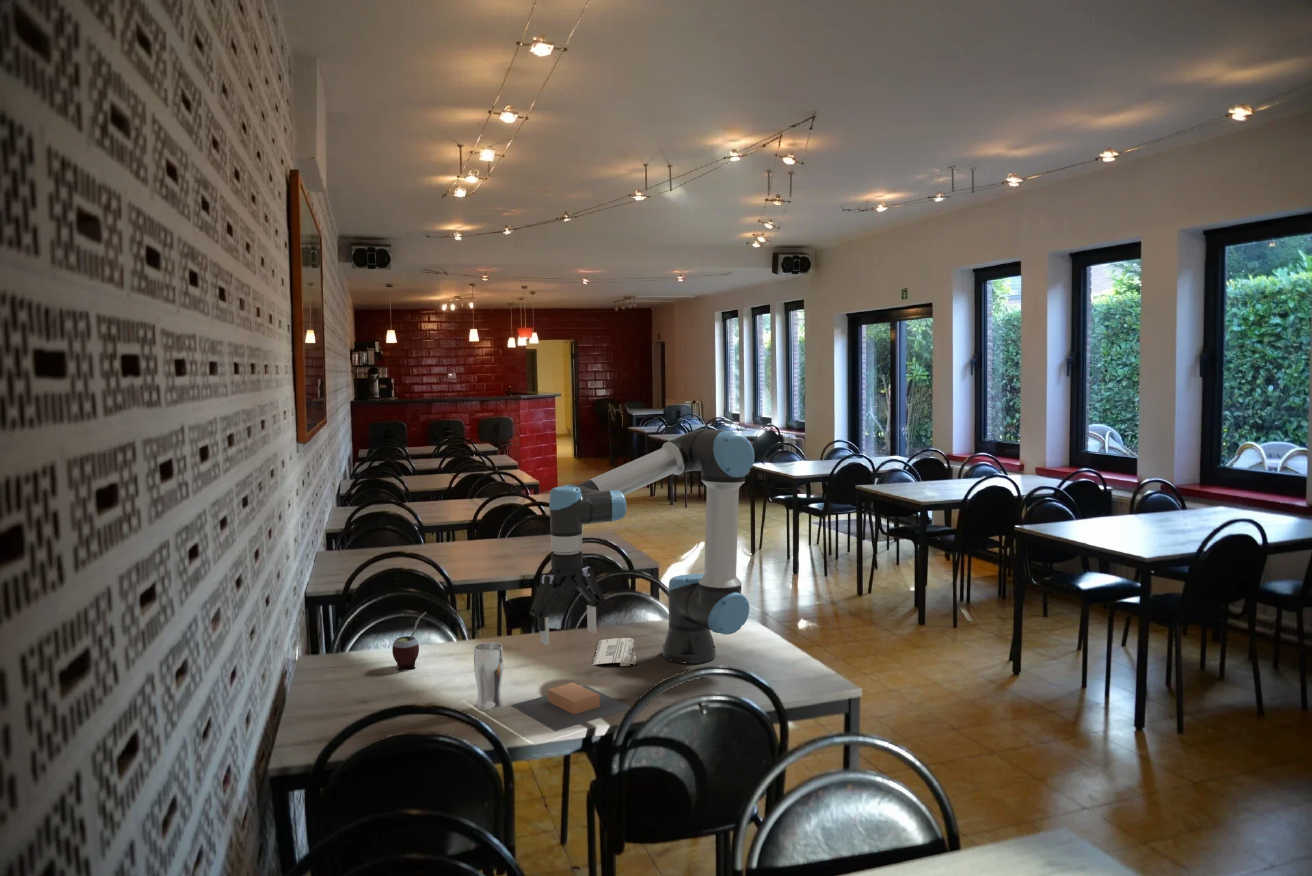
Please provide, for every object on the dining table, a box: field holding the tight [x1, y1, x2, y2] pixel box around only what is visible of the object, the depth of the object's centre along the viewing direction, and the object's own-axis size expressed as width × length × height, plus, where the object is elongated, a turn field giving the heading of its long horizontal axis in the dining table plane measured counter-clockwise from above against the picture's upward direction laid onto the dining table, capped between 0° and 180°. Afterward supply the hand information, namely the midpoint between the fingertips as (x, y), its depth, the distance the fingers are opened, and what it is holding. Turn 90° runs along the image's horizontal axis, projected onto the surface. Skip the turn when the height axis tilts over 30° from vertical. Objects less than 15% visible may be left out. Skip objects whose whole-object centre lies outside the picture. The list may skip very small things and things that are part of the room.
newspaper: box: [592, 637, 637, 667], centre depth 260 cm, size 23×12×2 cm, turn 178°
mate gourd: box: [391, 611, 427, 672], centre depth 248 cm, size 8×8×15 cm
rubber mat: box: [509, 684, 631, 732], centre depth 218 cm, size 22×20×1 cm
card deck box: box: [547, 682, 600, 714], centre depth 220 cm, size 8×3×11 cm
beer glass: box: [473, 641, 504, 712], centre depth 219 cm, size 7×7×15 cm
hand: (568, 637), depth 220 cm, fingers open, 13 cm apart
